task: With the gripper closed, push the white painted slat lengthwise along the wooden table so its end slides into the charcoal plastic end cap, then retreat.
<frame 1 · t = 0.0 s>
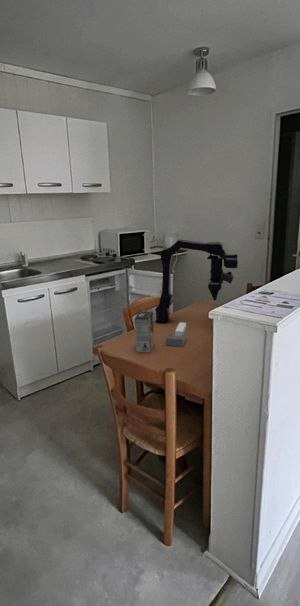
hand: (215, 297, 183), 15 cm above the table, fingers open, 9 cm apart
end cap: (176, 341, 167), on the table
coffee box: (145, 348, 162), on the table
slat: (181, 332, 179), on the table
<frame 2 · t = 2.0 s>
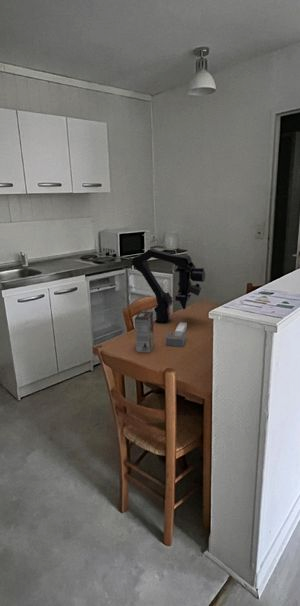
hand: (184, 309, 187), 8 cm above the table, fingers closed
nothing on the table moved.
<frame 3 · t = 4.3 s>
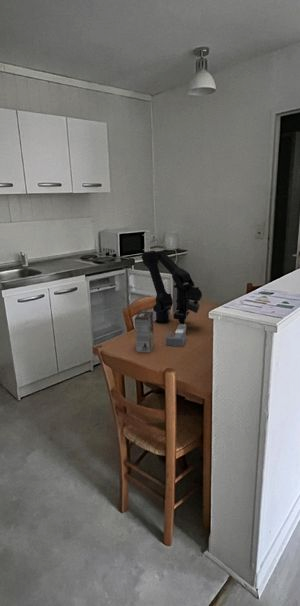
hand: (182, 326, 183), 1 cm above the table, fingers closed
slat: (180, 333, 177), on the table, touching gripper
everything else where it was.
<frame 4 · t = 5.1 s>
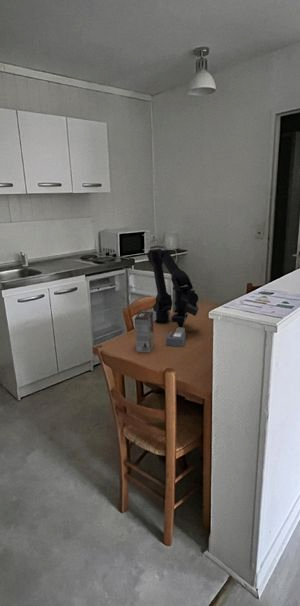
hand: (181, 329, 179), 1 cm above the table, fingers closed
slat: (179, 337, 173), on the table, touching gripper
everything else where it was.
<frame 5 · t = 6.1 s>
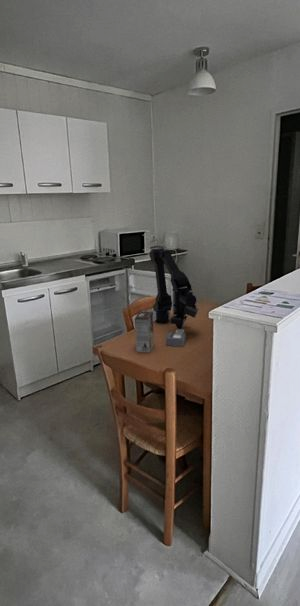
hand: (180, 331, 177), 1 cm above the table, fingers closed
slat: (178, 339, 171), on the table
everything else where it was.
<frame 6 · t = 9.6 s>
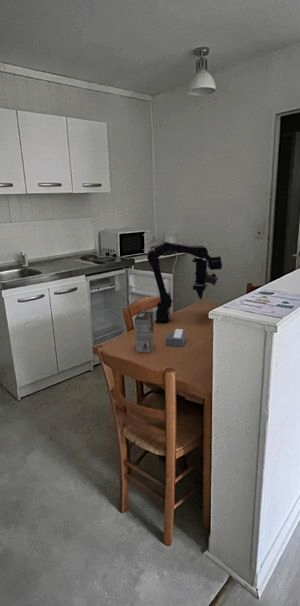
hand: (200, 298, 191), 12 cm above the table, fingers closed
nothing on the table moved.
at the end: slat 0.8 cm from the target spot on the end cap, point 0.0 cm above the end cap's base; slat tilted 0° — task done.
